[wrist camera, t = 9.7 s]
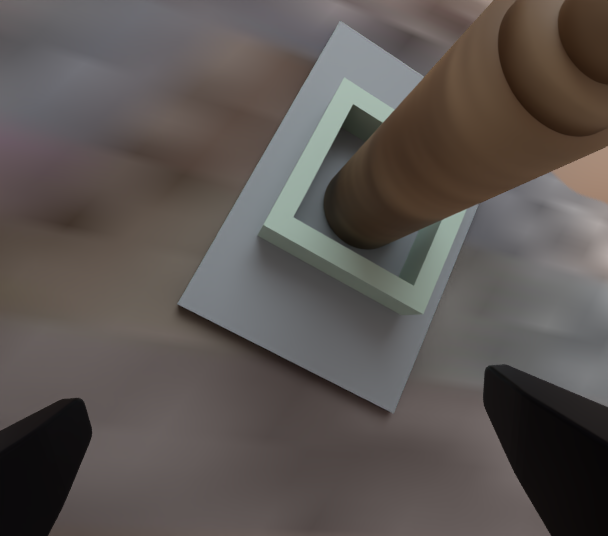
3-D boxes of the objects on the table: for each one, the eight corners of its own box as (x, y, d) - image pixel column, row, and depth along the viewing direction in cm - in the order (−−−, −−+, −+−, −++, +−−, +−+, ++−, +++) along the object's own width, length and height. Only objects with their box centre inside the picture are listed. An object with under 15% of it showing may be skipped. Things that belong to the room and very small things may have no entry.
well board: (389, 411, 21) (415, 424, 18) (178, 304, 19) (173, 301, 16) (502, 136, 25) (536, 114, 22) (337, 27, 23) (354, -11, 20)
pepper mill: (406, 250, 21) (788, 106, 8) (325, 248, 20) (604, 74, 6) (400, 169, 22) (742, -98, 8) (321, 162, 21) (568, -162, 7)
